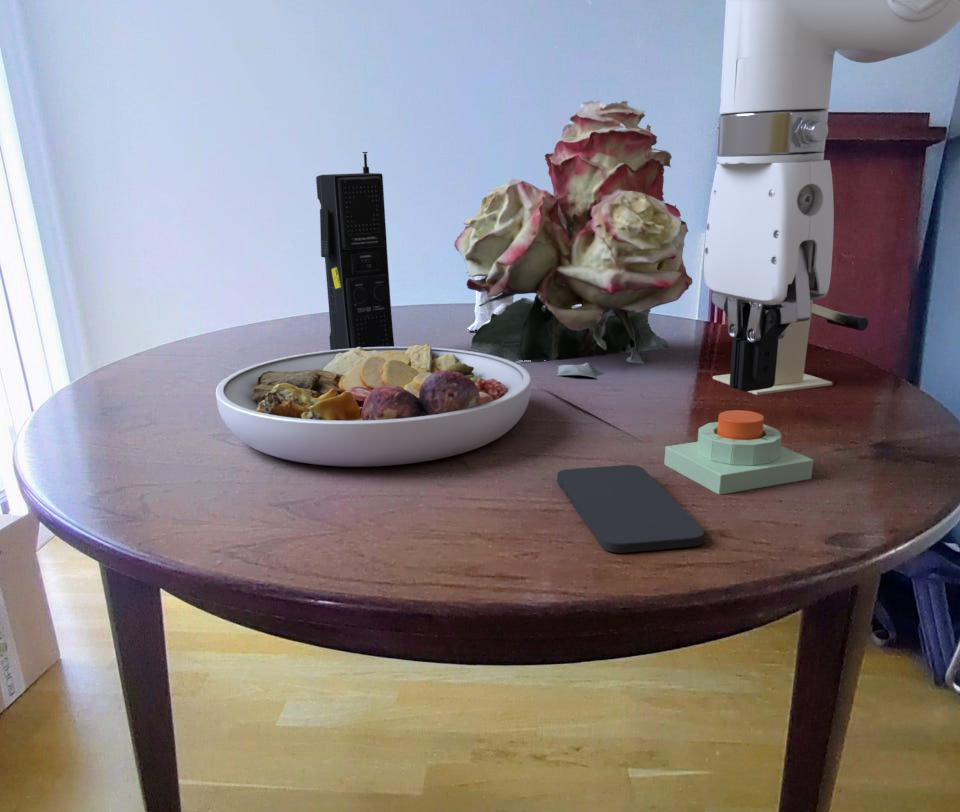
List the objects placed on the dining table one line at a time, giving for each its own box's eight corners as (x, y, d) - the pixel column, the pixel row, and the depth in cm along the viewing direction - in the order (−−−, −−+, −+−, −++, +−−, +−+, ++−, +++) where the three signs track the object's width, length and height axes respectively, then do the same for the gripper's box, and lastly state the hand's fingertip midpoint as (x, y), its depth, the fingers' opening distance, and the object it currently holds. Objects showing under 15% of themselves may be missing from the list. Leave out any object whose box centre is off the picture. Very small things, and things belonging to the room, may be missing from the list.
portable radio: (346, 369, 113) (330, 153, 103) (322, 362, 117) (304, 153, 107) (398, 360, 117) (388, 151, 107) (373, 353, 122) (360, 152, 112)
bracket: (783, 377, 106) (795, 273, 101) (831, 392, 99) (847, 282, 94) (711, 386, 102) (720, 279, 98) (755, 403, 96) (768, 289, 91)
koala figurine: (460, 334, 132) (458, 249, 127) (463, 326, 138) (461, 244, 134) (517, 334, 132) (518, 248, 127) (518, 325, 138) (518, 243, 133)
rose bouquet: (433, 364, 115) (423, 103, 103) (588, 332, 132) (595, 106, 121) (583, 402, 97) (592, 92, 85) (739, 359, 115) (764, 97, 103)
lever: (831, 328, 104) (839, 308, 103) (863, 336, 100) (872, 314, 99) (752, 302, 99) (760, 280, 98) (782, 309, 94) (790, 286, 94)
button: (743, 428, 77) (745, 408, 76) (771, 439, 74) (773, 419, 73) (708, 433, 76) (709, 413, 75) (734, 445, 73) (736, 424, 72)
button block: (750, 451, 81) (754, 413, 79) (811, 479, 74) (816, 438, 73) (663, 464, 78) (666, 425, 76) (719, 495, 71) (722, 453, 70)
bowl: (171, 425, 91) (159, 347, 88) (412, 376, 109) (409, 310, 106) (326, 507, 70) (318, 408, 67) (594, 430, 88) (597, 349, 84)
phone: (606, 545, 60) (553, 470, 74) (605, 556, 61) (552, 479, 74) (711, 536, 62) (640, 463, 75) (710, 547, 62) (639, 473, 75)
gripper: (888, 136, 61) (855, 402, 68) (749, 141, 74) (734, 364, 81) (797, 140, 58) (773, 416, 65) (670, 144, 71) (661, 374, 78)
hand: (751, 387), depth 73 cm, fingers closed
